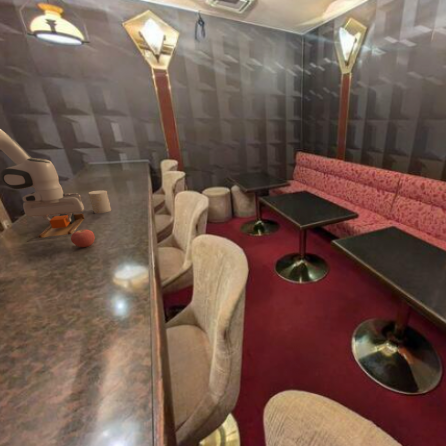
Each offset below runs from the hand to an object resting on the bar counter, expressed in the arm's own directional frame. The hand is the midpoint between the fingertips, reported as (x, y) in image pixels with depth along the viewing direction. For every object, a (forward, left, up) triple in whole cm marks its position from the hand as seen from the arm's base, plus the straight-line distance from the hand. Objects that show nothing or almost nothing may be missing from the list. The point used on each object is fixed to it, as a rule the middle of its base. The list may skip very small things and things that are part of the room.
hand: (60, 222), depth 118 cm
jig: (0, +1, -4) cm, 4 cm away
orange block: (0, 0, -2) cm, 2 cm away
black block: (0, +8, -3) cm, 9 cm away
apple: (+14, -26, -4) cm, 29 cm away
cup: (+12, +24, -4) cm, 27 cm away
